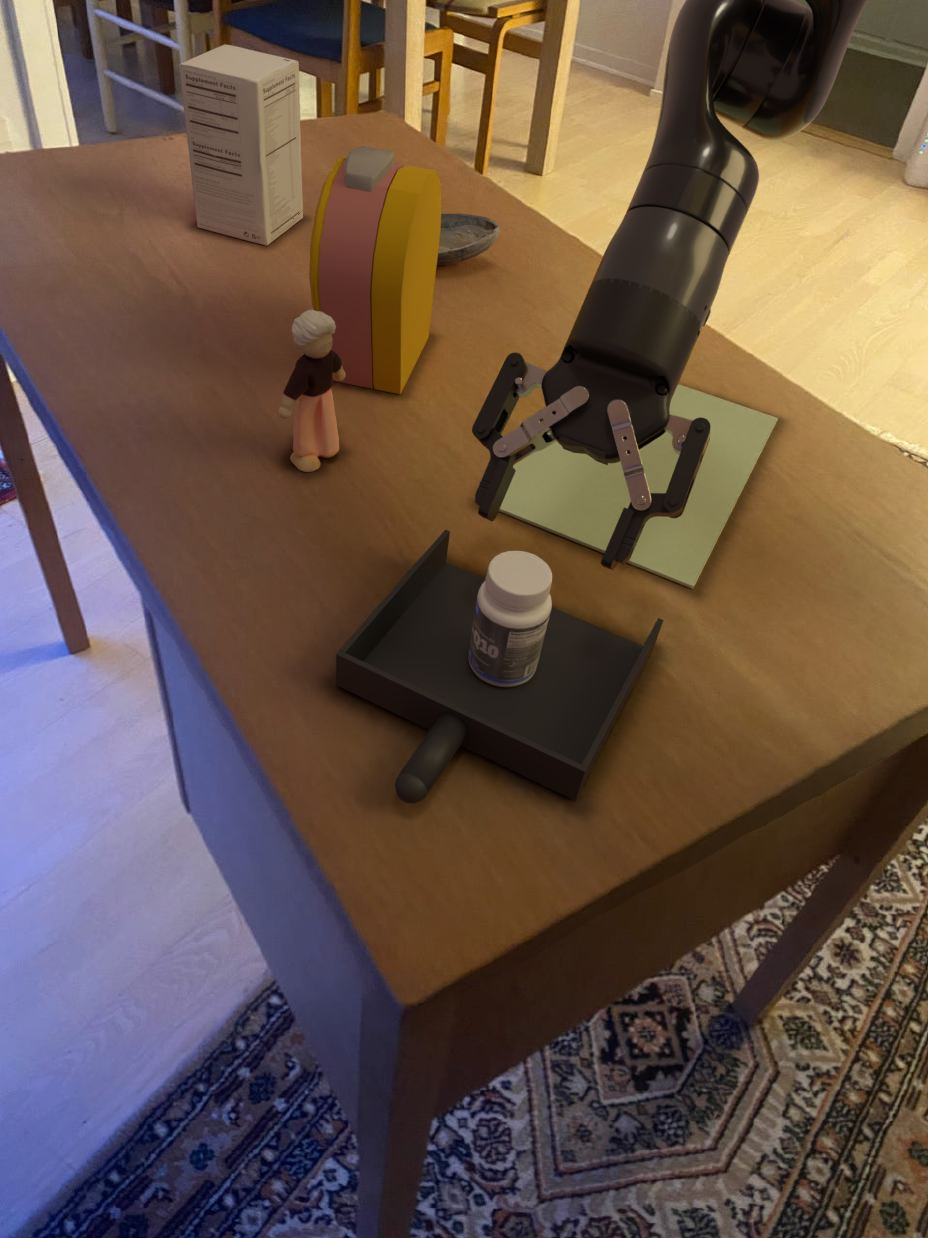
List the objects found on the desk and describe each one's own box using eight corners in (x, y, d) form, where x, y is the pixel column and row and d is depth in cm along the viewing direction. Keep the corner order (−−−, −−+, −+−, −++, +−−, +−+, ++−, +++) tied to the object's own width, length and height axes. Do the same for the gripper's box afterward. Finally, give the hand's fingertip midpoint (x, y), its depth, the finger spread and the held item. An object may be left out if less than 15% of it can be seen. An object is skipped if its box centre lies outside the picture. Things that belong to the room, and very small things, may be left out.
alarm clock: (355, 313, 93) (357, 119, 80) (432, 328, 92) (448, 135, 79) (308, 386, 82) (303, 176, 69) (395, 404, 82) (406, 195, 69)
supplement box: (236, 200, 110) (224, 41, 98) (305, 218, 108) (301, 58, 96) (194, 228, 103) (175, 61, 91) (266, 247, 101) (257, 79, 89)
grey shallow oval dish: (455, 229, 110) (459, 186, 107) (503, 273, 103) (509, 230, 99) (338, 241, 104) (338, 197, 101) (380, 289, 97) (381, 243, 93)
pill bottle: (456, 645, 61) (469, 553, 55) (518, 630, 63) (537, 539, 57) (484, 697, 58) (501, 605, 52) (549, 679, 60) (572, 588, 54)
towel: (604, 361, 91) (605, 358, 91) (777, 420, 86) (778, 417, 86) (481, 504, 73) (482, 501, 72) (692, 589, 68) (693, 586, 68)
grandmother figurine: (317, 484, 72) (314, 340, 63) (274, 471, 73) (266, 326, 64) (357, 436, 78) (360, 296, 69) (317, 424, 78) (315, 284, 69)
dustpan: (441, 562, 67) (445, 529, 65) (651, 652, 63) (664, 619, 61) (280, 753, 54) (278, 719, 52) (533, 883, 50) (543, 853, 47)
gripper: (534, 245, 55) (430, 491, 55) (760, 315, 51) (646, 578, 52) (553, 296, 62) (461, 513, 63) (752, 360, 58) (653, 590, 59)
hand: (545, 542), depth 57 cm, fingers open, 8 cm apart
